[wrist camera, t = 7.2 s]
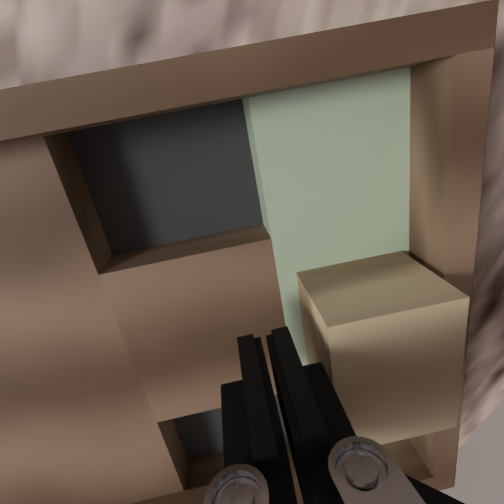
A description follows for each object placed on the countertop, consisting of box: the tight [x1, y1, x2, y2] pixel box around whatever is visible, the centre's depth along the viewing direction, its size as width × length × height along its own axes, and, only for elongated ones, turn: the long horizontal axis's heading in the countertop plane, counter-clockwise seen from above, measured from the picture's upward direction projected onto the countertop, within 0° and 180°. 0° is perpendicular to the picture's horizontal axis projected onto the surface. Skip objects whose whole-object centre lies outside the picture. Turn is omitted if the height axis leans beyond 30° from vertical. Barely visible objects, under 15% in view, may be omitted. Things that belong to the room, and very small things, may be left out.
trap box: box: [0, 0, 499, 504], centre depth 13 cm, size 18×22×4 cm
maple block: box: [296, 251, 470, 445], centre depth 12 cm, size 5×4×4 cm
